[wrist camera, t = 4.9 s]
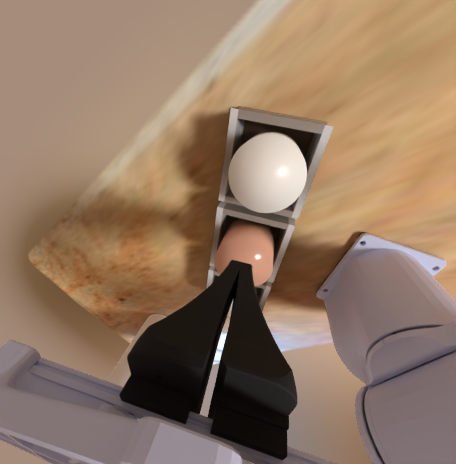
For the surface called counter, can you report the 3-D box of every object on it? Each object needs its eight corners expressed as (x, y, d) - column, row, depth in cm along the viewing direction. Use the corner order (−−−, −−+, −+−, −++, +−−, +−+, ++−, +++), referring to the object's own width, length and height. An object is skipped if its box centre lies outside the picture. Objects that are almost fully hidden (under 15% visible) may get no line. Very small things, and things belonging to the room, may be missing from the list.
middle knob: (267, 263, 20) (264, 293, 17) (223, 251, 20) (211, 278, 17) (280, 224, 17) (280, 250, 14) (230, 211, 18) (218, 233, 15)
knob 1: (289, 198, 16) (291, 220, 13) (235, 186, 17) (223, 203, 13) (310, 137, 14) (320, 144, 10) (245, 125, 14) (235, 127, 11)
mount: (261, 297, 27) (257, 327, 23) (212, 283, 27) (201, 310, 24) (324, 121, 16) (338, 123, 12) (240, 106, 16) (228, 103, 13)
